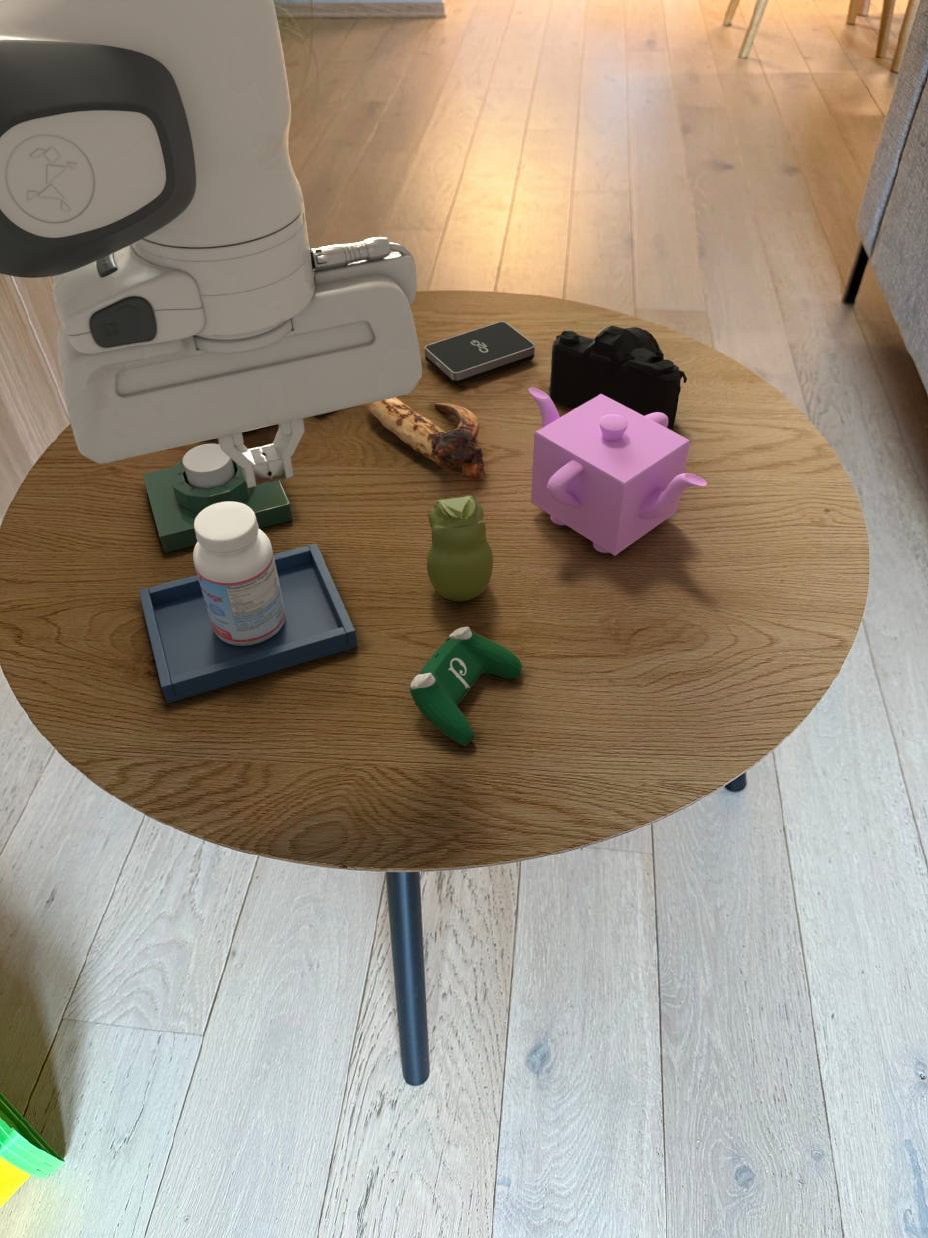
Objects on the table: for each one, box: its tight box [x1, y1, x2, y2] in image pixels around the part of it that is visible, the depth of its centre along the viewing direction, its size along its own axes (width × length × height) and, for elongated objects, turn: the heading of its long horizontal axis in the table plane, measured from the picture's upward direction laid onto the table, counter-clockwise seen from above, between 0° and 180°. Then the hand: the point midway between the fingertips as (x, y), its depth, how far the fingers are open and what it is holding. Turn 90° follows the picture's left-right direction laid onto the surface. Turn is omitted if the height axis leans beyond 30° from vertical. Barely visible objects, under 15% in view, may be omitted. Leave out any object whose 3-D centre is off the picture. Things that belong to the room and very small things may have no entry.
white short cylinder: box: [182, 443, 235, 489], centre depth 87 cm, size 4×4×2 cm
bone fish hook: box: [365, 397, 486, 481], centre depth 96 cm, size 9×5×18 cm
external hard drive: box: [424, 321, 536, 386], centre depth 107 cm, size 7×11×2 cm, turn 122°
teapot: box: [528, 387, 708, 556], centre depth 85 cm, size 15×13×11 cm
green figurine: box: [426, 494, 494, 602], centre depth 79 cm, size 6×5×10 cm
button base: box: [142, 445, 294, 554], centre depth 89 cm, size 12×10×4 cm
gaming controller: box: [409, 626, 523, 747], centre depth 73 cm, size 9×4×6 cm
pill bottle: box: [192, 501, 285, 646], centre depth 75 cm, size 6×6×11 cm
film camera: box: [548, 325, 688, 431], centre depth 99 cm, size 15×10×9 cm, turn 56°
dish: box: [138, 542, 359, 704], centre depth 79 cm, size 16×12×2 cm
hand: (268, 477), depth 59 cm, fingers closed
